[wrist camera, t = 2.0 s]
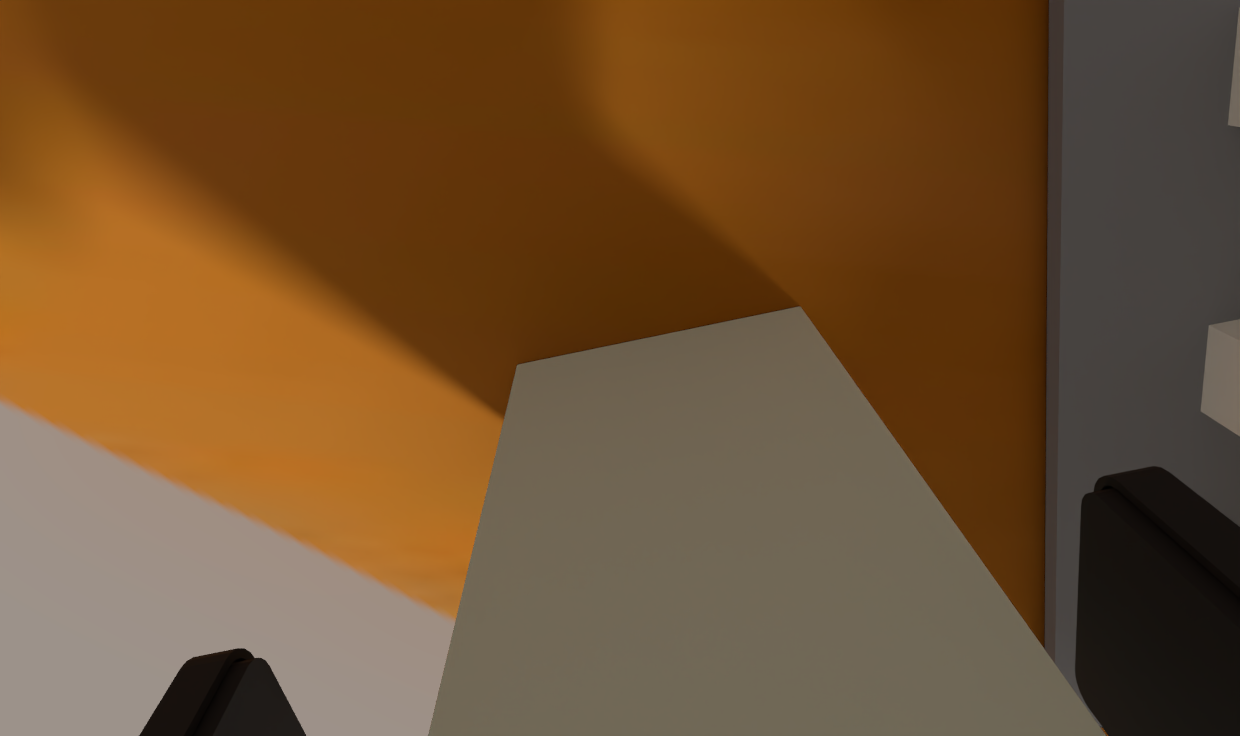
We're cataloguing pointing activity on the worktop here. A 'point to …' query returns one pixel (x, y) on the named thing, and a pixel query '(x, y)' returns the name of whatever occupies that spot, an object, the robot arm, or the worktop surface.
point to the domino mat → (1135, 262)
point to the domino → (728, 561)
